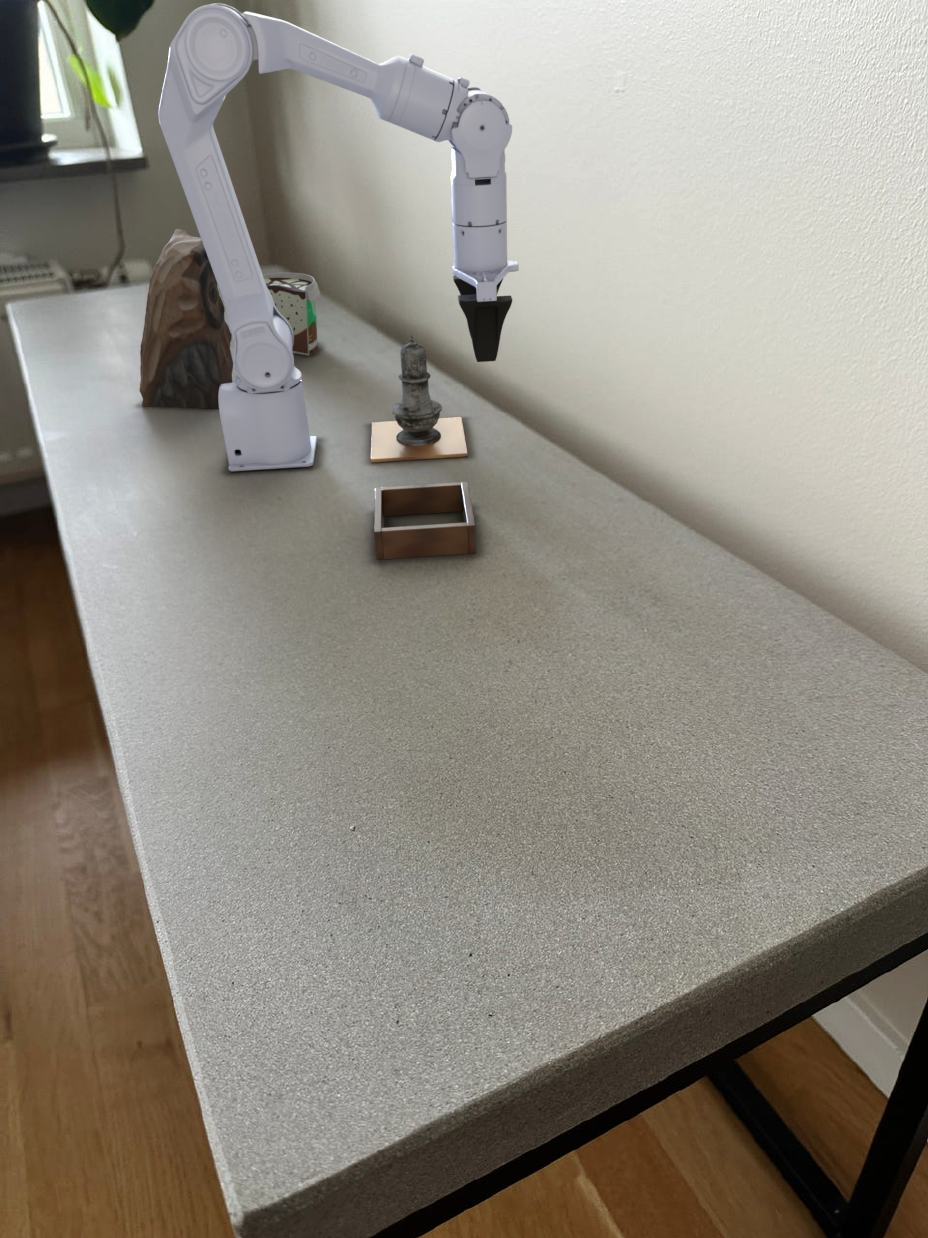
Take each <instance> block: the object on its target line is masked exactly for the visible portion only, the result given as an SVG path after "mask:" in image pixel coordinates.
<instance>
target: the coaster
mask: <svg viewBox="0 0 928 1238" xmlns="http://www.w3.org/2000/svg"><path fill="white" fill-rule="evenodd" d="M433 428H434V429H436V430H438V431H439V432H440V433H441V438H440V439H439V440H438V441H436V442H435V443H432V444H428V445H423V446H409V445H404V444H402V443H399V442H398V441H397V439H396V436H397V434H398V433H399V432H401V431H402V430H404V429H402V428H401V427H400V426H399V425H398V423H397V421H396V420H389V421H375V422H373V421H372V422H371V442H370V463H382V462H383V463H384V462H397V461H398V462H399V461H415V460H430V459H445V458H463V457H468V456H469V454H468V453H469V452H468V447H467V442H466V435H465V429H464V424H463V418H462V416H455V417H454V416H453V417H439V419H438V422H437V423H436V425H435V426H434V427H433Z"/></svg>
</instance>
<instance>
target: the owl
mask: <svg viewBox="0 0 928 1238" xmlns="http://www.w3.org/2000/svg"><path fill="white" fill-rule="evenodd" d="M148 285H149V286H148V292H147V296H146V306H145V314H144V323H143V324H144V325H143V332H142V338H141V342H140V352H139V354H140V355H139V356H140V367H139V368H140V369H139V370H140V372H139V373H140V382H139V393H140V396H141V397H142V402H141V407H160V408H162V407H163V408H182V409H194V408H199V409H206V410H211V409H212V410H213V409H219V401H218V395H219V387H220V385H221V384H226V383H232V382H233V369H234V365H233V355H232V351H231V342H232V340H233V337H232V334H231V331H230V328H229V324H228V323H227V322H226V320H225V312H226V308H225V304H224V301H223V299H222V296H220V290H219V287H218V283H217V281H216V278H215V275H214V272H213V270H212V267H211V264H210V261H209V259H208V256H207V253H206V250H205V248H204V245H203V242H202V239H201V237H200V236H192V235H190V234H189V233H188V231H187V230H184V229H182V228H176V229H175V230H174V232H173V233H172V236H171V237H170V240H169V241H168V243H166V245H164V247H163V249H162V251H161V253H160V255H159V256H158V259H157V261H156V264H155V266H154V268H153V270H152V273H151V275H150V277H149V283H148Z"/></svg>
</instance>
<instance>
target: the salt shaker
mask: <svg viewBox="0 0 928 1238" xmlns="http://www.w3.org/2000/svg"><path fill="white" fill-rule="evenodd" d="M408 340H409V342H408V343H407V344H405V345H403V346H402V347H401V349H400V353H399V356H400V370H401V373H400V374H399V375H398V379H399V380H400V381H401V389H402V390H401V391H402V395H401V401H399V402H397V403H395V404H394V405H392V407H391V413H392V414H393V415H394V419H395V421H397V423H398V425H399V426H400V427H401V428H402V429H404V430H402V431H401V432H399V433H398V434H397V436H396V439H397V441H398V442H399V443H402V444H404V445H409V446H423V445H428V444H432V443H435V442H436V441H438V440H439V439H440V438H441V433H440V432H439V431H438V430H436V429H434V428H433V427H434V426H435V425H436V423H437V422H438V419H439V418H440V415H441V412H442V411H443V405H442V404H441V403H440V402H439V401H436V400H434V399H431V394H430V390H429V389H430V388H429V379H430V378H431V376H432V375H431V374H430V373H429V372H428V367H427V350H426V348H425V347H424V346H423V345H422V344H420V343H417V342H415V341H416V338H415V337H414V336H413V335H410V337H409V339H408Z"/></svg>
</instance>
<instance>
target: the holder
mask: <svg viewBox="0 0 928 1238" xmlns="http://www.w3.org/2000/svg"><path fill="white" fill-rule="evenodd" d="M373 505H374V507H373V509H374V511H373V537H374V547H375V556H376V560H377V561H379V560H394V559H410V558H423V557H424V558H425V557H426V558H427V557H439V556H440V557H441V556H453V555H469V554H476V553H477V544H476V543H477V540H476V539H477V537H476V522H475V517H474V510H473V505H472V498H471V492H470V485H469V481H458V482H441V483H427V484H426V483H424V484H411V485H395V486H379V487H374V504H373ZM458 512H462V516H463V522H452V523H437V524H423V525H422V524H421V525H407V526H392V527H385V517H396V516H397V517H398V516H411V515H412V516H414V515H428V514H442V513H445V514H446V513H458Z"/></svg>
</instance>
